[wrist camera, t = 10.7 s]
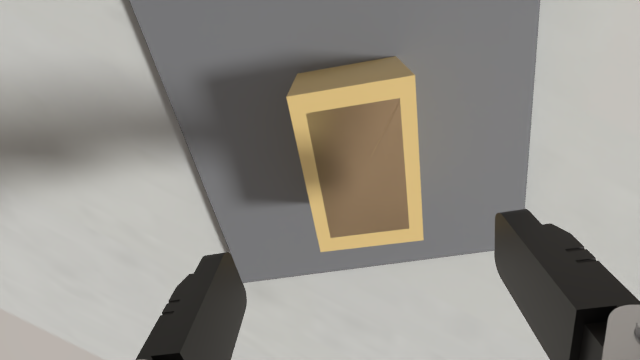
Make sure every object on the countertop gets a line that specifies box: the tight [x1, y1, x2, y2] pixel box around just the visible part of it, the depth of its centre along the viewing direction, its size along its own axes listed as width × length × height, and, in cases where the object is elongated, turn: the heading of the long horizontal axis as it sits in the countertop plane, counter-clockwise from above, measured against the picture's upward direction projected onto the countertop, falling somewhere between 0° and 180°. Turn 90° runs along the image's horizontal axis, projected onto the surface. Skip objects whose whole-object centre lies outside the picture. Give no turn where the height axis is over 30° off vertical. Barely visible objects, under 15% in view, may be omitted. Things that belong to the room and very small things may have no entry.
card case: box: [286, 56, 424, 252], centre depth 17 cm, size 5×8×4 cm, turn 10°
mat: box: [130, 0, 540, 283], centre depth 19 cm, size 18×18×1 cm
